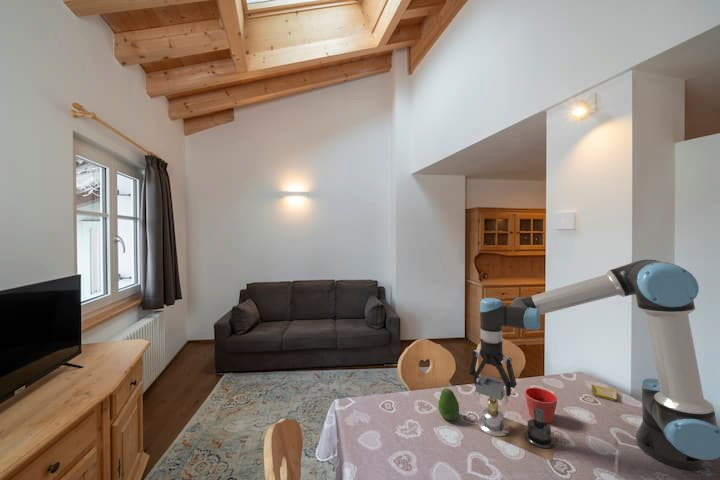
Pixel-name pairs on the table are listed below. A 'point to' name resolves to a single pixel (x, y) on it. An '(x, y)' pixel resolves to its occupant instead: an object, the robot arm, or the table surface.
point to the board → (524, 439)
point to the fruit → (448, 405)
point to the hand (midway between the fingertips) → (492, 398)
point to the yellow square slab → (596, 392)
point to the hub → (493, 420)
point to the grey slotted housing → (491, 387)
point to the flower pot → (541, 402)
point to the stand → (539, 431)
